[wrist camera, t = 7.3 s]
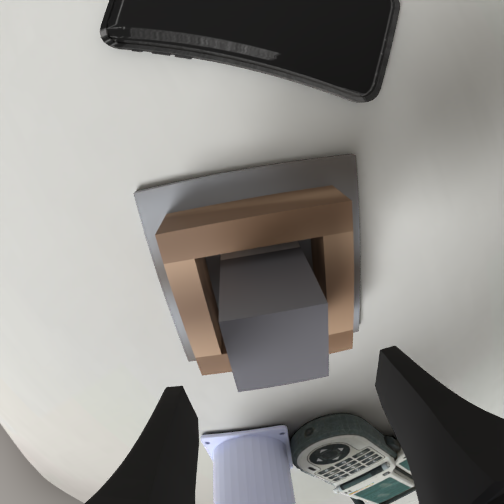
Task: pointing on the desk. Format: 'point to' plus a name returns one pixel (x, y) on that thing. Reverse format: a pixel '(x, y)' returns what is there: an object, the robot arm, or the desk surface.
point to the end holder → (254, 241)
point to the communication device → (353, 459)
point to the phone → (267, 37)
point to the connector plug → (272, 317)
